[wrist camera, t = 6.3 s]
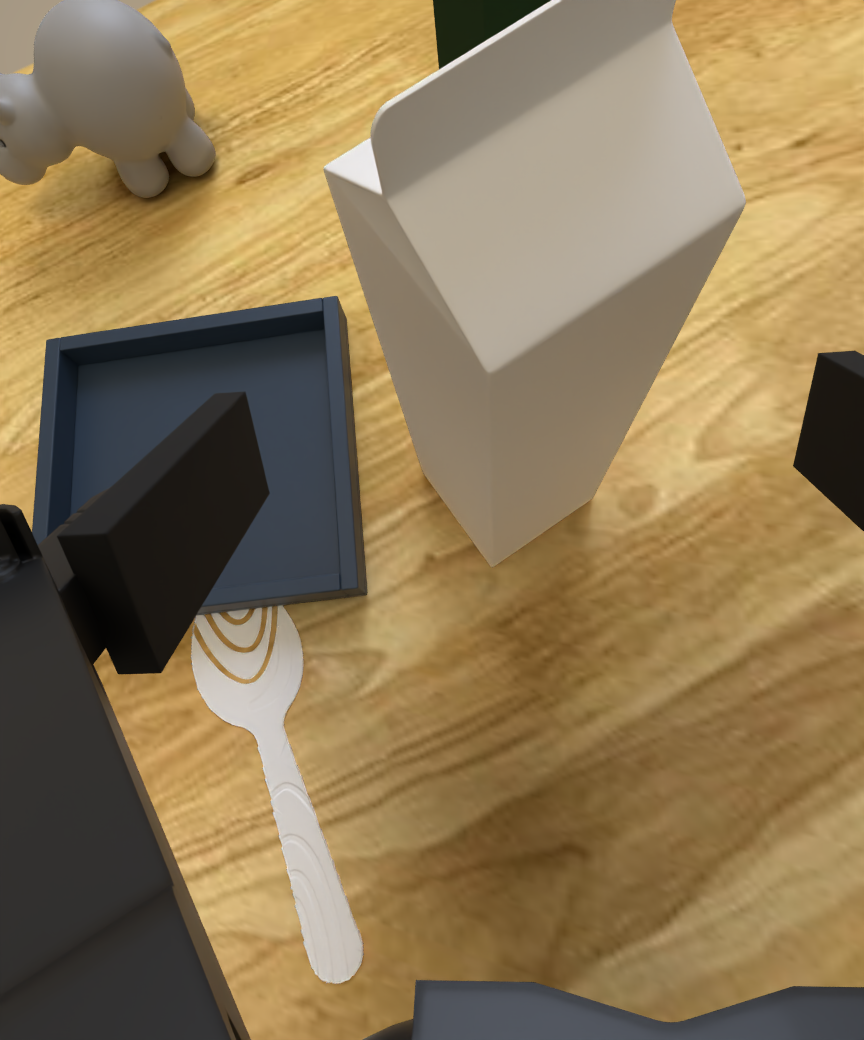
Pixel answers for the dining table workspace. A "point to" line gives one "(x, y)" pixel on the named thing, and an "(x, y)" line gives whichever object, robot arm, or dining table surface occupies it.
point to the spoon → (282, 775)
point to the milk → (536, 251)
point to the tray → (277, 422)
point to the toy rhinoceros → (101, 99)
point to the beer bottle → (474, 23)
